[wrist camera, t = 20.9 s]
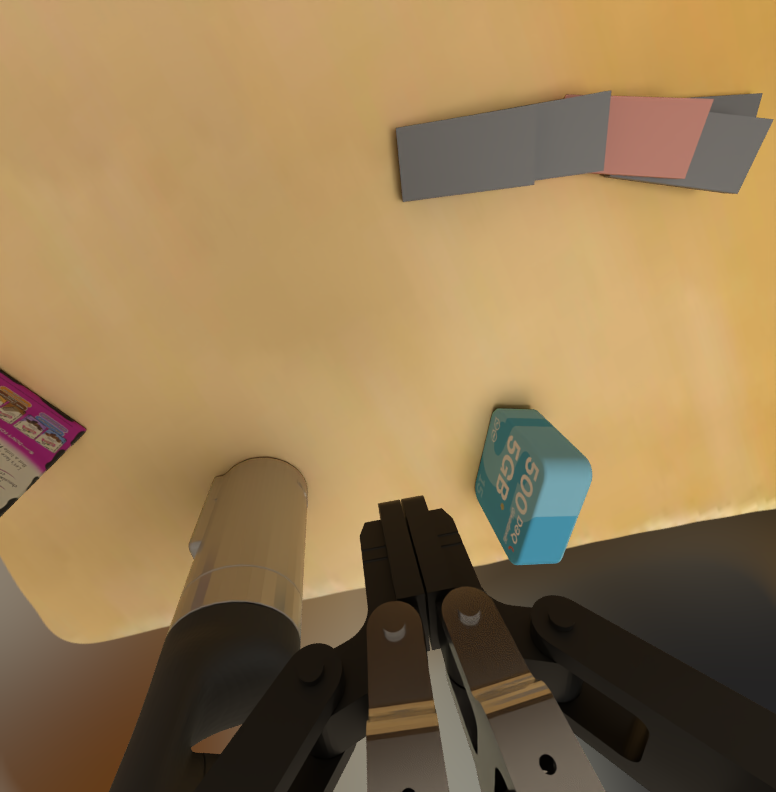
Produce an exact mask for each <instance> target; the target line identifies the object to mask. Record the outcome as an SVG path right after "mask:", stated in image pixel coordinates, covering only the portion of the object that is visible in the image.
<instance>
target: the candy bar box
mask: <svg viewBox="0 0 776 792" xmlns="http://www.w3.org/2000/svg"><path fill="white" fill-rule="evenodd" d="M85 432H86V429H85V428H84V427H83V426H81V425H80V424H78V423H77V422H75V421H74V420H73V419H71V418H70V417H68V416H67V415H65V414H64V413H62V412H61V411H59V410H58V409H56V408H55V407H53V406H52V405H51V404H49V403H48V402H46V401H45V400H43V399H42V398H40V397H39V396H37V395H36V394H34V393H33V392H32V391H30V390H29V389H27V388H26V387H24V386H23V385H21V384H20V383H18V382H17V381H15V380H14V379H13V378H11V377H10V376H8V375H7V374H5V373H4V372H2V371H1V370H0V517H1V516H2V515H3V514H4V513H5V512H6V511H7V510H8V509H9V508H10V507H11V506H12V505H13V504H14V503H15V502H16V501H17V500H18V499H19V498H20V497H21V496H22V495H23V494H24V493H25V492H26V491H27V490H28V489H29V488H30V487H31V486H32V485H33V484H34V483H35V482H36V481H37V480H38V479H39V478H40V477H41V476H42V475H43V474H44V473H45V472H46V471H47V470H48V469H49V468H50V467H51V466H52V465H53V464H54V463H55V462H56V461H57V460H58V459H59V458H60V457H61V456H62V455H63V454H64V453H65V452H66V451H67V450H68V449H69V448H70V447H71V446H72V445H73V444H74V443H75V442H76V441H77V440H78V439H79V438H80V437H81V436H82V435H83V434H84V433H85Z"/></svg>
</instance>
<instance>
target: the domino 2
mask: <svg viewBox="0 0 776 792" xmlns="http://www.w3.org/2000/svg"><path fill="white" fill-rule="evenodd" d="M610 100H611V91H605V92H599V93H594V94H588V95H583V96H577V97H571V98H566V99H560V100H554V101H549V102H543V103H538V104H537V122H536V149H535V177H534V181H535V180H542V179H549V178H556V177H563V176H570V175H577V174H585V173H592V172H599V171H604V162H605V152H606V141H607V131H608V121H609V110H610ZM532 105H535V104H532ZM526 106H529V105H526ZM521 107H523V106H521ZM515 108H517V107H515ZM510 109H511V108H510ZM504 110H506V109H504ZM498 111H500V110H498ZM493 112H494V111H493ZM487 113H488V112H487ZM481 114H482V113H481Z"/></svg>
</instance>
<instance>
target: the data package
mask: <svg viewBox="0 0 776 792" xmlns="http://www.w3.org/2000/svg"><path fill="white" fill-rule="evenodd" d="M591 481H592V469H591V465H590V463H589V461H588V459H587V458H586V457H585V456H584V455H583V454H582V453H581V452H580V451H579V450H578V449H577V448H576V447H575V446H573V445H572V444H571V443H570V442H569V441H568V440H567V439H566V438H565V437H564V436H563V435H562V434H561V433H560V432H559V431H558V430H557V429H556V428H555V427H554V426H553V425H552V424H551V423H550V422H549V421H547V420H546V419H545V418H544V417H543V416H542V415H541V414H540V413H539V412H538V411H537V410H534V409H500V408H498V409H496V410H495V411H494V412H493V414H492V417H491V421H490V425H489V429H488V433H487V437H486V442H485V446H484V450H483V454H482V458H481V462H480V467H479V471H478V475H477V479H476V484H475V491H476V497H477V499H478V501H479V503H480V505H481V507H482V509H483V511H484V513H485V515H486V517H487V518H488V520H489V522H490V524H491V526H492V528H493V530H494V532H495V534H496V536H497V537H498V539H499V541H500V543H501V545H502V547H503V549H504V551H505V553H506V554H507V556H508V558H509V560H510V561H511V562H512V563H513V564H514V565H530V564H552V563H558V562H560V561H561V559H562V557H563V554H564V552H565V549H566V547H567V544H568V541H569V539H570V536H571V534H572V531H573V528H574V526H575V523H576V520H577V518H578V515H579V513H580V510H581V507H582V505H583V502H584V500H585V497H586V494H587V492H588V489H589V487H590V484H591Z"/></svg>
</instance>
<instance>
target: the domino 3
mask: <svg viewBox="0 0 776 792" xmlns="http://www.w3.org/2000/svg"><path fill="white" fill-rule="evenodd" d="M577 96H583V95H566V96H565V97H564V99H566V98H571V97H577ZM713 100H714V99H697V98H664V97H631V96H611V100H610V110H609V121H608V131H607V141H606V152H605V162H604V171H599V172H592V174H607V175H622V176H638V177H653V178H668V179H685V177H686V174H687V171H688V169H689V166H690V163H691V160H692V158H693V155H694V152H695V149H696V147H697V144H698V141H699V138H700V136H701V133H702V130H703V127H704V125H705V122H706V119H707V116H708V114H709V111H710V108H711V106H712V103H713Z"/></svg>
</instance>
